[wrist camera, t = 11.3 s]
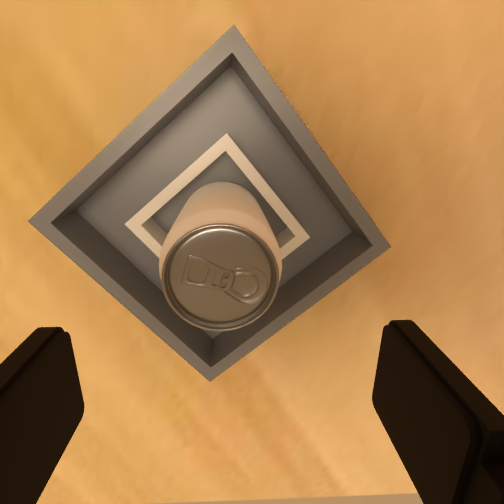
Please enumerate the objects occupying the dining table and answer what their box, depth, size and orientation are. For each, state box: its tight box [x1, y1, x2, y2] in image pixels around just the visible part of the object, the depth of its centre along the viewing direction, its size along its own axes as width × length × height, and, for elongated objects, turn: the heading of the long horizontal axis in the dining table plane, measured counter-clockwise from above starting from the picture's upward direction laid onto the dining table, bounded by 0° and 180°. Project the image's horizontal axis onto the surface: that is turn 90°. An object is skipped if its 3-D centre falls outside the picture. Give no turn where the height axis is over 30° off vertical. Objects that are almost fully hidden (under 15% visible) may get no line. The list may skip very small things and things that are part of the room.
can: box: [159, 182, 282, 331], centre depth 21 cm, size 6×6×12 cm
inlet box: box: [28, 25, 391, 381], centre depth 26 cm, size 18×18×5 cm
